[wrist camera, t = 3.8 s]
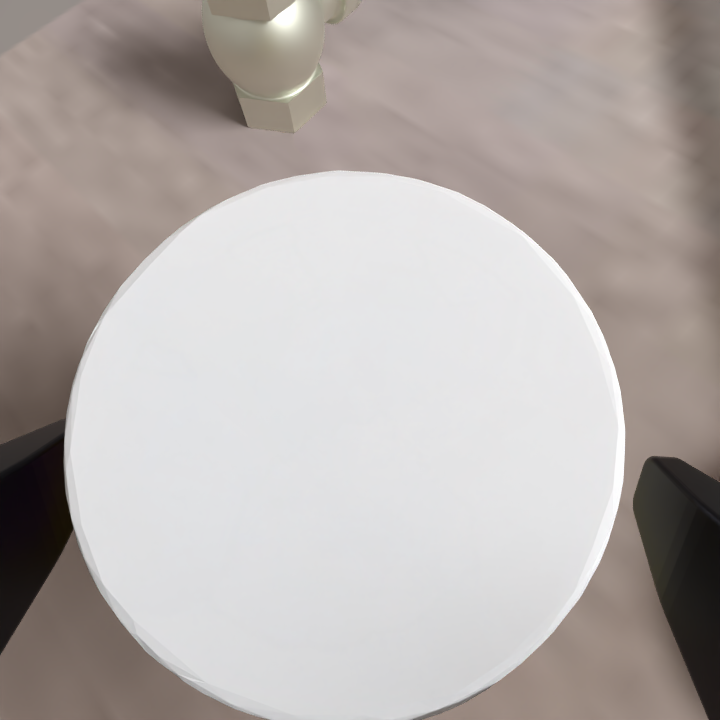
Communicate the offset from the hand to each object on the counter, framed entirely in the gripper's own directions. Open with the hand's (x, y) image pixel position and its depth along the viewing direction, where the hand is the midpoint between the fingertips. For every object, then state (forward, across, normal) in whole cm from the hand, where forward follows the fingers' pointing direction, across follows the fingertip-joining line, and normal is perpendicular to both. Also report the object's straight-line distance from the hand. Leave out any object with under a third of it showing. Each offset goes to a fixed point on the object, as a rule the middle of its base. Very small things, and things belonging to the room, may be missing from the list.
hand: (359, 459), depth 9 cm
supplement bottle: (+6, 0, +6) cm, 8 cm away
